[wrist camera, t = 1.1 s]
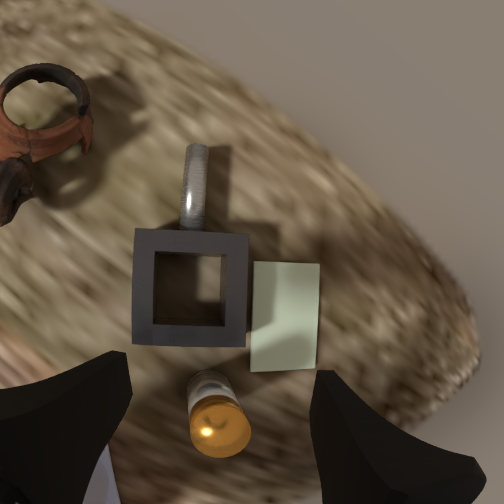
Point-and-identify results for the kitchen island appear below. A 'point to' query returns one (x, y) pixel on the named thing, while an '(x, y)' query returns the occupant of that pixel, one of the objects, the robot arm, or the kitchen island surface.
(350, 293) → the kitchen island surface
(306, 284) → the mat
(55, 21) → the kitchen island surface
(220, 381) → the metal cylinder
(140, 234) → the grey square with handle
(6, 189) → the brown looped band
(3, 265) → the kitchen island surface
